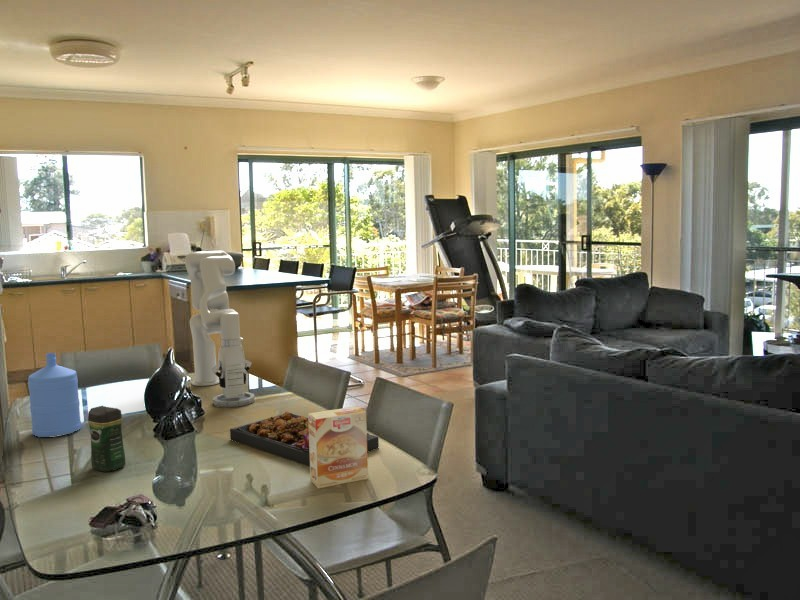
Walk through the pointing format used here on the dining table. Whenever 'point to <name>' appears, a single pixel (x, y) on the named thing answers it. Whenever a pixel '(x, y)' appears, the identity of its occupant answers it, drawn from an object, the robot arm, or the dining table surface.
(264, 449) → the food platter
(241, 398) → the saucer
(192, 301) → the robot arm
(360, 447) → the coffeecake box
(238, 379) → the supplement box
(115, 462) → the coffee jar
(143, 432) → the dining table surface
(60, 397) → the water jug
